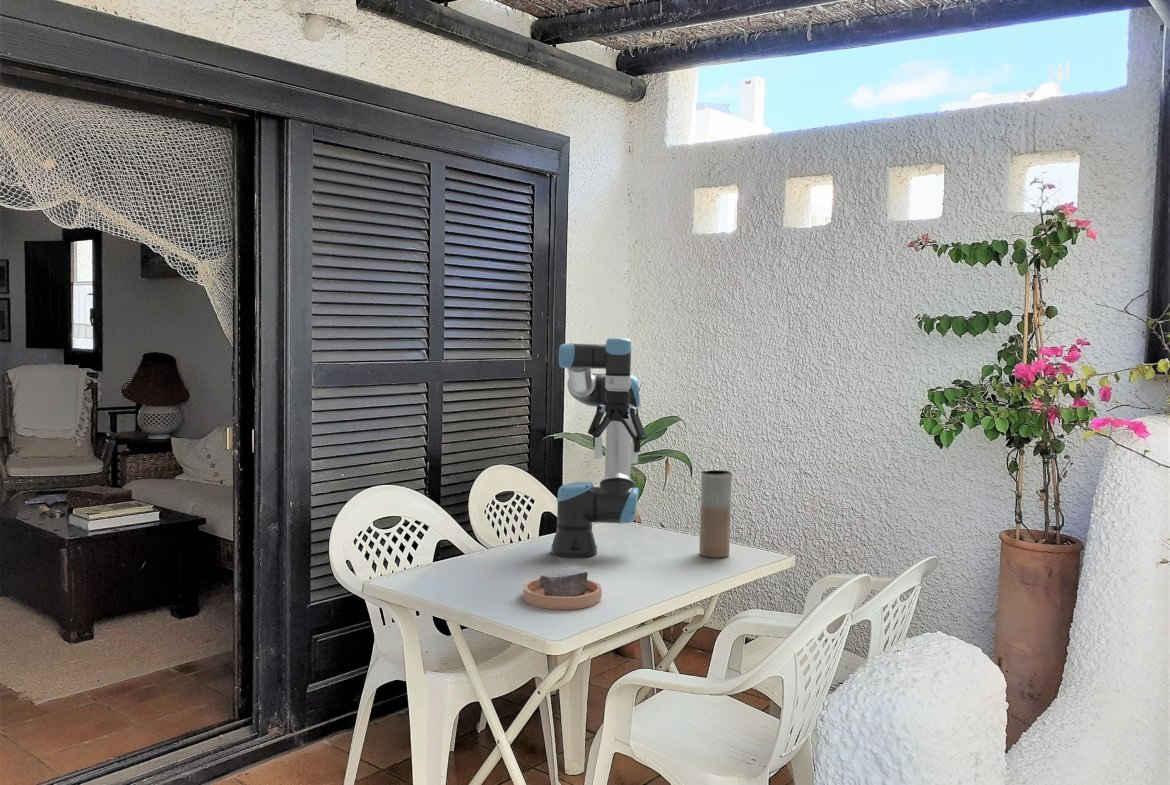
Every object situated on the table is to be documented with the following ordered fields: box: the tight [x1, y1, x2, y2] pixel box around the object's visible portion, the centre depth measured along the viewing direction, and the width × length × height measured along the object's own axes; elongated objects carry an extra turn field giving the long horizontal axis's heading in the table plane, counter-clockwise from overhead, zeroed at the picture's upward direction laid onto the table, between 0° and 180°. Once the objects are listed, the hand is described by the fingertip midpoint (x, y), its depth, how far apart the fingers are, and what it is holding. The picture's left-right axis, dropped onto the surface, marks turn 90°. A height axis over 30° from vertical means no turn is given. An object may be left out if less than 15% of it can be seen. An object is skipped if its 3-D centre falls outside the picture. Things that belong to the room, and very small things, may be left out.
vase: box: [698, 469, 732, 559], centre depth 294 cm, size 10×10×28 cm
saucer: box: [522, 577, 603, 611], centre depth 241 cm, size 21×21×3 cm
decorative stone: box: [539, 566, 589, 597], centre depth 241 cm, size 15×7×10 cm
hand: (616, 460), depth 265 cm, fingers open, 13 cm apart
